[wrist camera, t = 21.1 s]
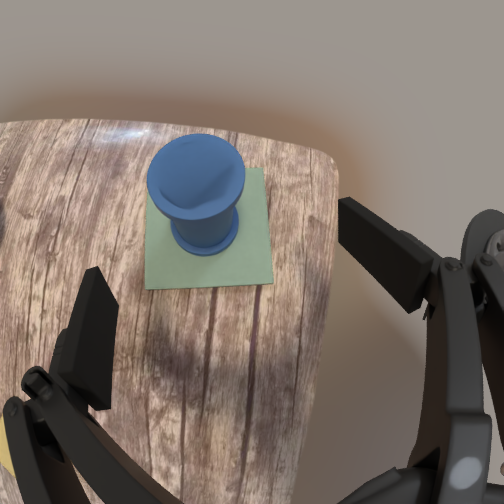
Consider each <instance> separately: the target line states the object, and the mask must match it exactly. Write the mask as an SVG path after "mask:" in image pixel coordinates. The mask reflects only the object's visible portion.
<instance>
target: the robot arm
mask: <svg viewBox="0 0 504 504" xmlns="http://www.w3.org/2000/svg"><path fill="white" fill-rule="evenodd" d="M338 242H339V243H340V244H341V245H342V246H343V247H344V248H345V249H346V250H347V251H348V252H349V253H350V254H351V255H352V256H353V257H354V258H355V259H356V260H357V261H358V262H359V263H360V264H361V265H362V266H363V267H364V268H365V269H366V270H367V271H368V272H369V273H370V274H371V275H372V276H373V277H374V278H375V279H376V280H377V281H378V282H379V283H380V284H381V285H382V286H383V287H384V288H385V289H386V291H388V293H389V294H390V295H391V296H392V297H393V298H394V299H395V300H396V301H397V302H398V303H399V304H400V305H401V306H402V308H403V309H404V310H405V311H406V312H407V313H408V314H410V313H411V312H413V311H415V310H417V309H419V308H420V307H421V304H422V301H423V298H425V299H426V300H427V301H428V305H427V308H426V310H425V313H424V316H423V320H425V318H426V316H427V347H426V348H427V349H426V368H425V382H424V392H423V402H422V410H421V417H420V424H419V430H418V436H417V440H416V444H415V446H414V448H413V450H412V452H411V455H410V457H409V461H408V465H407V468H403V469H398V470H397V469H396V467H393V468H392V469H390V470H388V471H386V472H385V473H383V474H381V475H379V476H377V477H376V478H374V479H372V480H370V481H368V482H366V483H364V484H363V485H362V486H361V487H359V488H358V489H357V490H355V491H354V492H352V493H351V494H350V495H348V496H347V497H346V498H344V499H343V500H341V501H340V502H339V503H337V504H504V485H498V484H492V483H487V477H488V470H489V462H490V452H491V440H492V419H491V417H490V415H488V414H485V413H484V408H483V405H484V403H483V372H482V364H483V367H484V370H485V374H486V377H487V381H488V385H489V388H490V392H491V396H492V400H493V405H494V410H495V413H496V419H497V424H498V430H499V435H500V439H501V443H502V447H503V450H504V229H503V230H500V231H497V232H495V233H493V234H492V235H491V236H490V237H489V238H488V240H487V242H486V244H485V247H484V250H483V253H477V254H476V255H475V258H474V261H473V263H468V264H463V263H462V262H461V261H460V260H458V259H456V258H452V257H445V258H442V257H440V256H439V255H438V254H437V253H435V252H434V251H433V250H432V249H430V248H429V247H428V246H426V245H425V244H423V243H422V242H421V241H420V240H418V239H417V238H416V237H414V236H413V235H411V234H409V233H407V232H405V231H402V230H400V231H398V230H397V229H396V228H394V227H393V226H391V225H390V224H389V223H387V222H386V221H384V220H383V219H382V218H380V217H379V216H377V215H376V214H374V213H373V212H372V211H370V210H369V209H367V208H366V207H364V206H362V205H361V204H360V203H358V202H357V201H355V200H354V199H352V198H351V197H346V198H342V199H338ZM118 309H119V305H118V303H117V301H116V299H115V297H114V296H113V294H112V292H111V290H110V288H109V286H108V284H107V282H106V280H105V279H104V277H103V275H102V273H101V271H100V269H99V267H98V266H96V267H93V268H90V269H87V270H86V271H85V274H84V277H83V280H82V283H81V285H80V288H79V291H78V295H77V298H76V301H75V304H74V307H73V311H72V314H71V317H70V321H69V325H68V328H66V329H63V330H62V331H61V333H60V334H59V336H58V338H57V340H56V344H55V349H54V352H53V356H52V360H51V364H50V369H49V373H47V372H46V371H45V370H44V369H43V368H42V367H40V366H35V367H32V368H30V369H29V370H28V371H27V372H26V373H25V374H24V376H23V379H22V382H21V388H22V390H23V391H24V392H25V393H26V394H27V395H28V396H29V397H30V398H31V399H30V400H28V401H26V402H23V401H22V400H21V399H20V398H19V397H16V396H13V397H11V398H10V399H9V400H7V402H6V403H5V405H4V408H3V419H4V426H5V432H6V438H7V443H8V448H9V453H10V457H11V461H12V465H13V469H14V473H15V477H16V480H17V483H18V487H19V490H20V493H21V496H22V499H23V502H24V504H91V503H90V501H89V499H88V497H87V495H86V493H85V491H84V489H83V487H82V485H81V483H80V481H79V479H78V477H77V475H76V472H75V470H74V468H73V466H72V463H73V465H74V466H75V467H76V469H77V470H78V471H79V473H80V474H81V475H82V477H83V478H84V479H85V480H86V482H87V483H88V484H89V486H90V487H91V488H92V489H93V490H94V492H95V493H96V494H97V495H98V496H99V497H100V499H101V500H102V501H103V502H104V503H105V504H184V503H182V502H181V501H180V500H179V499H177V498H176V497H175V496H173V495H172V494H171V493H170V492H168V491H167V490H166V489H165V488H164V487H162V486H161V485H160V484H159V483H158V482H156V481H155V480H154V479H153V478H152V477H151V476H150V475H149V474H147V473H146V472H145V471H144V470H143V469H142V468H141V467H140V466H139V465H138V464H137V463H136V462H135V461H134V460H132V459H131V458H130V457H129V456H128V455H127V454H126V453H125V452H124V451H123V449H122V448H121V447H120V446H119V445H118V444H117V443H116V442H115V441H114V440H113V439H112V438H111V437H110V436H109V435H108V433H107V432H106V431H105V430H104V429H103V428H102V427H101V425H100V424H99V423H98V422H97V421H96V420H95V418H94V417H93V416H92V415H91V414H90V413H89V412H88V404H89V405H90V406H91V407H92V408H93V409H94V410H96V411H100V410H108V409H111V392H112V371H113V357H114V345H115V335H116V326H117V317H118ZM70 460H71V461H70ZM71 462H72V463H71ZM500 469H501V474H502V475H503V476H504V463H503V464H502V466H501V468H500Z"/></svg>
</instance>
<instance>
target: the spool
mask: <svg viewBox="0 0 504 504" xmlns="http://www.w3.org/2000/svg"><path fill="white" fill-rule="evenodd" d="M244 183H245V166H244V162H243V160H242V158H241V156H240V154H239V153H238V151H237V150H236V149H235V148H234V147H233V146H232V145H231V144H230V143H228V142H227V141H225V140H224V139H221V138H219V137H217V136H213V135H209V134H190V135H185V136H182V137H179V138H177V139H175V140H173V141H171V142H169V143H168V144H166V145H165V146H164V147H163V148H162V149H160V150H159V151H158V153H157V154H156V155H155V157H154V158H153V160H152V162H151V164H150V166H149V169H148V173H147V188H148V192H149V195H150V197H151V199H152V201H153V202H154V204H155V206H156V207H157V209H158V210H159V211H160V212H161V213H162V214H163V215H165V216H166V217H167V218H169V219H171V221H170V225H171V231H172V234H173V236H174V238H175V240H176V242H177V243H178V245H179V246H180V247H181V248H182V249H184V250H185V251H186V252H188V253H190V254H192V255H196V256H203V257H206V256H213V255H216V254H219V253H221V252H222V251H224V250H225V249H227V248H228V247H229V246H230V245H231V243H232V242H233V241H234V239H235V237H236V235H237V231H238V226H239V216H238V212H237V209H236V207H235V205H236V204H237V202H238V201H239V199H240V197H241V195H242V192H243V189H244Z"/></svg>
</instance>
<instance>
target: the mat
mask: <svg viewBox="0 0 504 504" xmlns="http://www.w3.org/2000/svg"><path fill="white" fill-rule="evenodd" d="M235 207H236V209H237V212H238V216H239V226H238V231H237V235H236V237H235V239H234V241H233V242H232V243H231V245H230V246H229V247H228V248H227V249H225V250H224V251H222V252H221V253H219V254H216V255H213V256H206V257H203V256H196V255H192V254H190V253H188V252H186V251H185V250H184V249H182V248H181V247H180V246H179V245H178V243H177V242H176V240H175V238H174V236H173V234H172V231H171V225H170V221H171V219H169V218H167V217H166V216H165V215H163V214H162V213H161V212H160V211H159V210H158V209H157V207H156V206H155V204H154V202H153V201H152V199H151V197H150V195H149V192H147V207H146V229H145V289H146V290H163V289H189V288H211V287H231V286H248V285H264V284H273V283H274V279H273V268H272V256H271V245H270V234H269V223H268V213H267V202H266V192H265V182H264V172H263V168H245V183H244V189H243V192H242V195H241V197H240V199H239V201H238V202H237V204H236V205H235Z"/></svg>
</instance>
